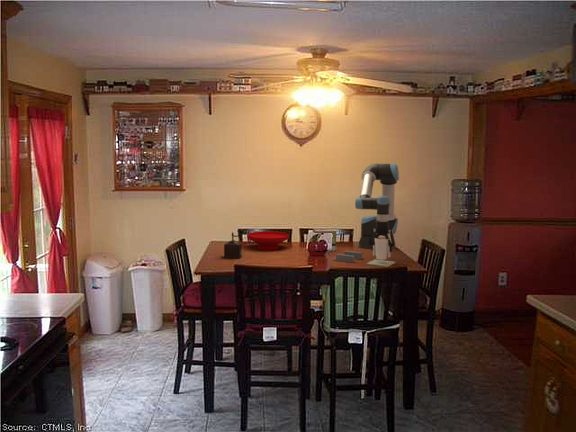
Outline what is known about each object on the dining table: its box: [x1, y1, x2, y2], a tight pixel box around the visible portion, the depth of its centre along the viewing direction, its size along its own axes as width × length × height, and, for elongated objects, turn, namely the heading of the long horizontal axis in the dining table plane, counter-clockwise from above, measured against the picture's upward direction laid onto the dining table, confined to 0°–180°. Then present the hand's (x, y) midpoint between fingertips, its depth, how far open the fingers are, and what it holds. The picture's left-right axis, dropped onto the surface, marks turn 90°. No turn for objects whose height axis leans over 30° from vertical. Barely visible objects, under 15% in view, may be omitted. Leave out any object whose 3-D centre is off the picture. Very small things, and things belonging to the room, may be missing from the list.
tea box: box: [312, 228, 337, 252], centre depth 375 cm, size 15×10×15 cm
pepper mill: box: [223, 228, 244, 260], centre depth 348 cm, size 16×11×18 cm
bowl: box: [246, 230, 290, 251], centre depth 382 cm, size 30×30×10 cm
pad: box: [366, 259, 397, 268], centre depth 331 cm, size 14×14×1 cm
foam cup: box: [375, 236, 391, 261], centre depth 329 cm, size 10×9×13 cm
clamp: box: [332, 250, 364, 264], centre depth 342 cm, size 16×14×4 cm
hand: (381, 256), depth 330 cm, fingers closed on foam cup, 9 cm apart
